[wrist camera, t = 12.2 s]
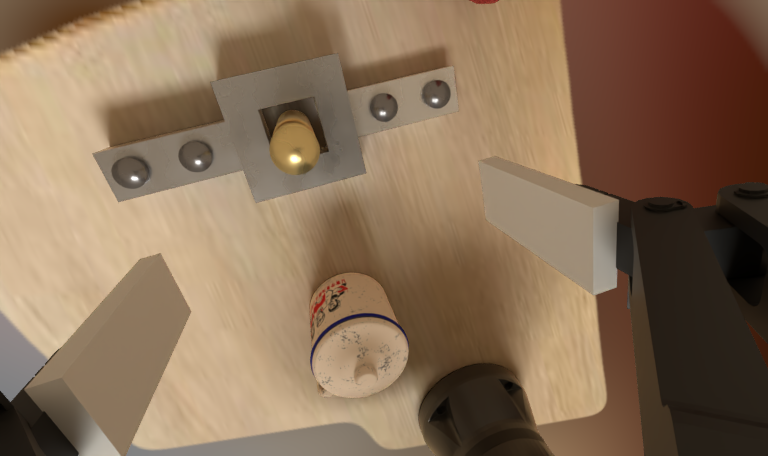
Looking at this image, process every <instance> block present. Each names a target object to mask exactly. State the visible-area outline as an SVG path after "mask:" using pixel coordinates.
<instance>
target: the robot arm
mask: <svg viewBox="0 0 768 456" xmlns="http://www.w3.org/2000/svg"><path fill="white" fill-rule="evenodd" d="M479 169H480V177H481V185H482V193H483V200H484V208H485V216H486V220H487V221H488V222H490V223H491V224H492V225H494V226H495V227H497V228H498V229H500V230H501V231H502V232H504V233H505V234H507V235H508V236H510V237H511V238H512V239H514V240H515V241H517V242H518V243H520V244H521V245H522V246H524V247H525V248H527V249H528V250H529V251H531V252H532V253H534V254H535V255H537V256H538V257H539V258H541V259H542V260H544V261H545V262H547V263H548V264H549V265H551V266H552V267H554V268H555V269H557V270H558V271H559V272H561V273H562V274H564V275H565V276H566V277H568V278H569V279H571V280H572V281H574V282H575V283H576V284H578V285H579V286H581V287H582V288H584V289H585V290H586V291H588V292H589V293H591V294H592V295H596V294H599V293H602V292H604V291H607V290H610V289H613V288H616V287H617V269H619V270H621V271H623V272H624V273H626V274H628V275H629V277H628V301H627V308H628V309H630V312H631V321H632V332H633V343H634V353H635V363H636V374H637V384H638V394H639V404H640V414H641V425H642V435H643V444H644V456H768V368H767V366H766V364H765V362H764V360H763V358H762V355H761V353H760V351H759V349H758V347H757V345H756V343H755V340H754V338H753V336H752V334H751V332H750V330H749V327H748V325H747V323H746V321H747V322H748V323H749V324H750V325H751V326H752V327H753V328H754V330H755V331H756V332H757V333H758V334H759V335H760V336H761V337H762V338H763V339H764V340H765V341H766V342H767V343H768V185H765V184H764V183H754V182H750V183H749V182H748V183H745V184H735V185H730V186H726V187H723V188H721V189H720V190H719V192H718V196H717V202H716V205H714V206H708V207H700V208H693V206H692V205H691V204H689V203H688V202H686V201H683V200H680V199H675V198H668V197H654V198H646V199H642V200H638V201H637V202H633V201H630V200H627V199H624V198H621V197H618V196H616V195H613V194H608V193H607V192H604V191H599V190H598V189H595V188H592V187H589V186H586V185H578V184H573V183H570V182H567V181H564V180H561V179H558V178H556V177H553V176H550V175H547V174H544V173H541V172H539V171H536V170H533V169H530V168H527V167H524V166H522V165H519V164H516V163H513V162H510V161H507V160H505V159H502V158H499V157H496V156H494V157H490V158H487V159H484V160H480V161H479ZM190 313H191V310H190V308H189V306H188V304H187V302H186V301H185V299H184V297H183V295H182V293H181V291H180V289H179V287H178V285H177V284H176V282H175V280H174V278H173V276H172V274H171V272H170V270H169V268H168V266H167V265H166V263H165V261H164V259H163V257H162V255H161V253H159V254H156V255H153V256H149V257H146V258H142V259H140V260H139V261H138V262H137V263H136V264H135V265H134V266H133V267H132V269H131V270H130V271H129V272H128V273H127V274H126V275H125V276H124V278H123V279H122V280H121V281H120V282H119V283H118V284H117V285H116V287H115V288H114V289H113V290H112V291H111V292H110V293H109V294H108V296H107V297H106V298H105V299H104V300H103V301H102V302H101V303H100V305H99V306H98V307H97V308H96V309H95V310H94V311H93V312H92V314H91V315H90V316H89V317H88V318H87V319H86V320H85V321H84V323H83V324H82V325H81V326H80V327H79V328H78V329H77V330H76V332H75V333H74V334H73V335H72V336H71V337H70V338H69V339H68V341H67V342H66V343H65V344H64V345H63V346H62V347H61V348H60V349H58V350H57V351H56V352H55V353H54V354H53V355H52V357H51V358H50V359H49V360H48V361H47V362H46V363H45V366H43V367H42V368H41V369H40V370H39V371H38V372H37V373H36V374H35V377H33V378H32V379H31V380H30V381H29V382H28V383H27V384H26V386H25V387H24V388H23V389H22V390H21V391H20V392H19V393H18V395H17V396H16V397H15V398H14V399H13V400H12V401H11V402H10V401H9V400H8V399H7V398H6V397H5V396H4V395H3V393H2V392H1V391H0V456H78V455H79V456H126V454H127V452H128V449H129V447H130V445H131V443H132V441H133V438H134V436H135V434H136V432H137V430H138V427H139V425H140V423H141V421H142V419H143V416H144V414H145V412H146V410H147V408H148V405H149V403H150V401H151V399H152V397H153V394H154V392H155V390H156V388H157V386H158V384H159V381H160V379H161V377H162V375H163V373H164V370H165V368H166V366H167V364H168V362H169V359H170V357H171V355H172V353H173V351H174V348H175V346H176V344H177V342H178V340H179V337H180V335H181V333H182V331H183V329H184V326H185V324H186V322H187V320H188V318H189V316H190ZM745 320H746V321H745ZM419 426H420V429H421V432H422V434H423V437H424V440H425V442H426V444H427V446H428V447H429V449H430V450H431V451H432V453H433V454H434V455H435V456H554V454H553V453H552V452H551V450H550V449H549V447H548V446H547V444H546V443H545V442H544V440H543V439H542V437H541V436H540V434H539V432H538V429H537V426H536V423H535V420H534V416H533V413H532V410H531V407H530V404H529V401H528V397H527V394H526V392H525V390H524V388H523V387H522V385H521V384H520V383H519V381H518V380H517V378H516V377H515V376H514V375H513V374H512V372H510V371H509V370H508V369H506V368H504V367H502V366H499V365H494V364H477V365H471V366H468V367H464V368H462V369H459V370H457V371H455V372H453V373H451V374H449V375H448V376H446V377H445V378H443V379H442V380H441V381H440V382H438V383H437V384H436V385H435V386H434V387H433V388H432V389H431V391H430V392H429V393H428V394H427V396H426V397H425V399H424V401H423V403H422V405H421V408H420V412H419Z"/></svg>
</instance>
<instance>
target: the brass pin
mask: <svg viewBox="0 0 768 456" xmlns="http://www.w3.org/2000/svg"><path fill="white" fill-rule="evenodd" d="M269 152H270V157H271V159H272V161H273V163H274V164H275V166H276V167H277V168H278V169H280V170H281V171H283V172H285V173H287V174H290V175H301V174H305V173H307V172H309V171H310V170H311V169H313V168H314V166H315V165H316V164H317V162H318V159H319V156H320V147H319V143H318V141H317V138H316V136H315V133H314V131H313V129H312V126H311V124H310V121H309V119H308V118H307V116H306V115H305V114H303V113H302V112H300V111H297V110H288V111H286V112H284V113H282V114H281V115H280V117H279V118H278V121H277V124H276V127H275V130H274V133H273V136H272V139H271V142H270V147H269Z"/></svg>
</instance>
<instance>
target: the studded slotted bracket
mask: <svg viewBox="0 0 768 456" xmlns="http://www.w3.org/2000/svg"><path fill="white" fill-rule="evenodd" d="M210 83H211V86H212V88H213V91H214V94H215V96H216V99H217V102H218V104H219V107H220V110H221V112H222V115H223V118H224V120H220V121H216V122H212V123H208V124H204V125H200V126H195V127H191V128H187V129H183V130H179V131H175V132H170V133H166V134H162V135H158V136H154V137H149V138H145V139H141V140H137V141H133V142H129V143H124V144H120V145H116V146H112V147H108V148H106V149H103V150H101V151H98V152H96V153H93V156H94V158H95V160H96V161H97V163H98V165H99V167H100V169H101V171H102V173H103V174H104V176H105V178H106V180H107V182H108V184H109V186H110V187H111V189H112V191H113V193H114V195H115V197H116V198H117V200H118V202H121V201H125V200H129V199H133V198H137V197H141V196H144V195H148V194H152V193H156V192H160V191H164V190H168V189H172V188H176V187H179V186H183V185H187V184H191V183H195V182H199V181H203V180H207V179H211V178H214V177H218V176H222V175H226V174H230V173H234V172H238V171H242V170H243V171H244V173H245V176H246V179H247V181H248V184H249V187H250V189H251V192H252V195H253V197H254V200H255V202H256V203H258V202H262V201H265V200H269V199H273V198H276V197H280V196H284V195H288V194H291V193H295V192H299V191H302V190H306V189H310V188H314V187H317V186H321V185H325V184H328V183H332V182H336V181H340V180H343V179H347V178H351V177H354V176H358V175H362V174H366V169H365V165H364V161H363V157H362V152H361V148H360V144H359V140H358V137H361V136H365V135H369V134H373V133H377V132H381V131H385V130H389V129H392V128H396V127H400V126H404V125H408V124H412V123H416V122H420V121H424V120H428V119H431V118H435V117H439V116H443V115H447V114H451V113H455V112H459V107H458V99H457V91H456V82H455V74H454V66H446V67H442V68H438V69H434V70H429V71H425V72H421V73H417V74H413V75H408V76H404V77H400V78H396V79H392V80H388V81H383V82H379V83H375V84H371V85H367V86H363V87H358V88H354V89H350V90H347V89H346V85H345V80H344V76H343V72H342V68H341V63H340V59H339V55H338V53H336V54H332V55H327V56H323V57H318V58H314V59H309V60H305V61H301V62H296V63H292V64H287V65H283V66H279V67H274V68H270V69H265V70H261V71H256V72H252V73H248V74H243V75H239V76H234V77H230V78H225V79H221V80H217V81H212V82H210ZM309 97H313V98H314V102H315V106H316V109H317V113H318V117H319V120H320V124H321V128H322V131H323V135H324V139H325V142H326V146H324V147H320V156H319V159H318V162H317V164H316V165H315V166H314V168H313V169H311V170H310V171H309V172H307V173H305V174H301V175H290V174H287V173H285V172H283V171H281V170H280V169H278V168H277V167H276V166H275V164H274V163H273V161H272V159H271V157H270V152H269V147H270V142H271V137H270V134H269V131H268V128H267V125H266V122H265V119H264V115H263V112H262V109H263V108H268V107H272V106H276V105H280V104H284V103H289V102H293V101H297V100H301V99H305V98H309Z"/></svg>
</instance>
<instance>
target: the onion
mask: <svg viewBox="0 0 768 456" xmlns="http://www.w3.org/2000/svg"><path fill="white" fill-rule="evenodd" d="M470 1H472V2H474V3H476V4H490V3H495V2H497V1H499V0H470Z"/></svg>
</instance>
